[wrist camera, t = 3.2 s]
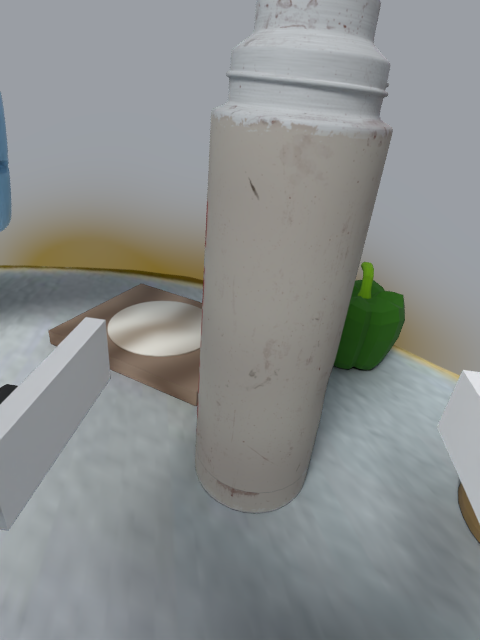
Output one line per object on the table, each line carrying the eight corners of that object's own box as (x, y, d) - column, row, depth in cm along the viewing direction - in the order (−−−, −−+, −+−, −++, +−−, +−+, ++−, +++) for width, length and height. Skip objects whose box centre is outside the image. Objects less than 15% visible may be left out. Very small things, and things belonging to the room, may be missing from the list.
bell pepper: (378, 393, 37) (410, 297, 32) (297, 362, 40) (315, 271, 35) (395, 353, 43) (424, 268, 38) (324, 329, 47) (342, 248, 42)
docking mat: (50, 343, 39) (48, 328, 38) (141, 294, 50) (141, 282, 49) (196, 406, 33) (196, 390, 32) (262, 334, 44) (264, 321, 43)
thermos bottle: (171, 474, 27) (174, -85, 13) (232, 409, 33) (276, -19, 19) (275, 537, 24) (420, -117, 10) (321, 452, 30) (449, -26, 16)
